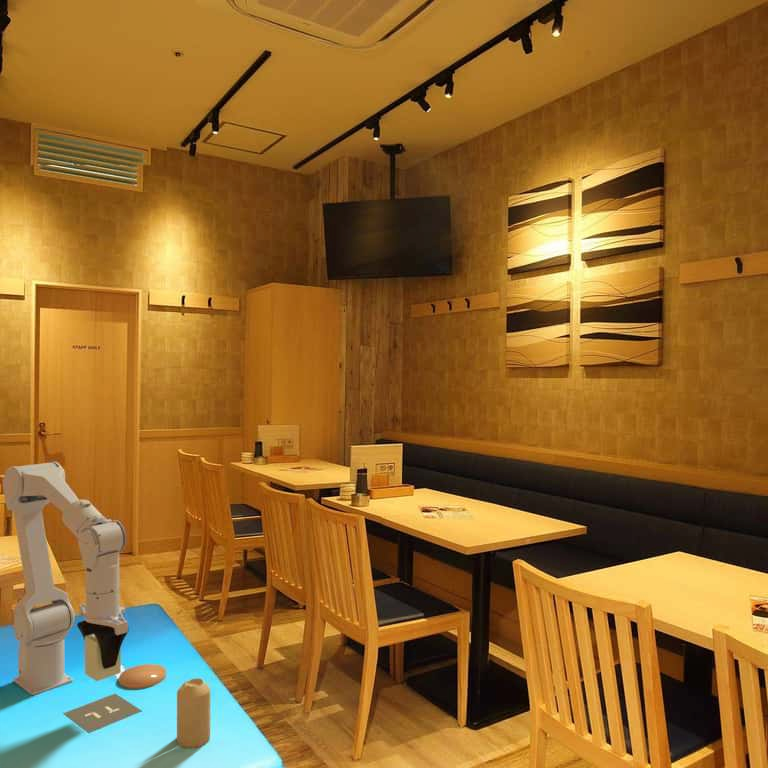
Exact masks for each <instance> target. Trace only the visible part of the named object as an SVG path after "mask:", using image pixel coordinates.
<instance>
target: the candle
mask: <svg viewBox="0 0 768 768" xmlns="http://www.w3.org/2000/svg"><path fill="white" fill-rule="evenodd" d="M210 737H211V687H210V685H209V684H208V683H207V682H205V681H204V680H203V679H202V678H191V679H190V680H185V681H184V683H183V684H182V685H181V686H180V687H179V688H178V690H177V691H176V741H177V744H178V745H179V746H180V747H182V748H184V749H185V748H186V749H193V748H198V747H201V746H204V745H205V744H207V743H208V742H209V740H210Z"/></svg>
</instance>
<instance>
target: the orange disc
mask: <svg viewBox="0 0 768 768" xmlns="http://www.w3.org/2000/svg"><path fill="white" fill-rule="evenodd" d="M119 674H120V675H119V677H118V678H119V679H118V681H119V682H118V683H119V685H120V686H121V687H124V688H127V689H132V690H133V689H136V690H137V689H144V688H151V687H153V686H155V685H158V684H160V683H161V682H163V681H164V680H165V679H166V676H167V669H166V668H165V666H162V665H159V664H155V663H154V664H153V663H149V664H148V663H147V664H145V663H144V664H140V665H135V666H131V667H129V668H127V669H125V670H124V671H122V672H121V673H119Z"/></svg>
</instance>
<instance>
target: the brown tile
mask: <svg viewBox="0 0 768 768" xmlns="http://www.w3.org/2000/svg"><path fill="white" fill-rule="evenodd" d="M141 712H143V710H142V709H140V708H139V707H137V706H135V704H133V703H131V702H129V701H128V700H126V699H125V698H123V697H122V696H121V695H119V694H117V693H112V694H110V695H107V696H105V697H102V698H99V699H96V700H94V701H92V702H89V703H87V704H84V705H82V706H78V707H76V708H73V709H70V710H68V711H65V712H63V713H62V714H63V715H65V716H66V717H67V718H68V719H70V720H71V721H73V722H74V723H75V724H77V726H79V727H80V728H82V729H83V730H84V731H86V733H88V734H91V733H93V732H95V731H98V730H101V729H102V728H105V727H107V726H110V725H112V724H115V723H117V722H119V721H121V720H124V719H126V718H129V717H131V716H133V715H136V714H139V713H141Z"/></svg>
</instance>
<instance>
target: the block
mask: <svg viewBox="0 0 768 768" xmlns="http://www.w3.org/2000/svg"><path fill="white" fill-rule="evenodd" d="M121 647H122V646H121ZM121 647H120V651H119V654H118V658H117V662H116V665H115V666H113V667H110V668H107V669H104V668H103V665H102V660H101V651H100V646H99V643H98V641H97V638H96V637H95V635H94V633H93V634H90V635H87V636H85V640H84V674H85V676H87V677H89V678H90V679H92V680H94V681H95V682H99V681H102V680H105V679H107V678H109V677H110V678H111V677H113V676H115V675H116V676H117V675H118V674H121V673H122V672H121V671H122V670H121V660H122V659H121V657H122V656H121V650H122V648H121Z"/></svg>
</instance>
